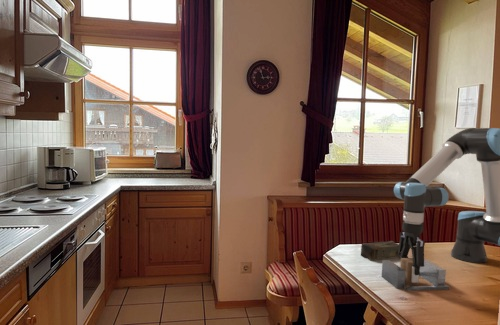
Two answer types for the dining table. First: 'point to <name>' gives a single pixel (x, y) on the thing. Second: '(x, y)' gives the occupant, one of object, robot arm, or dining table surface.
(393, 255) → the beverage carton
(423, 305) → the dining table surface
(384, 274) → the vise body
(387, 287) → the dining table surface
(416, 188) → the robot arm
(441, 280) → the block
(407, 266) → the block
